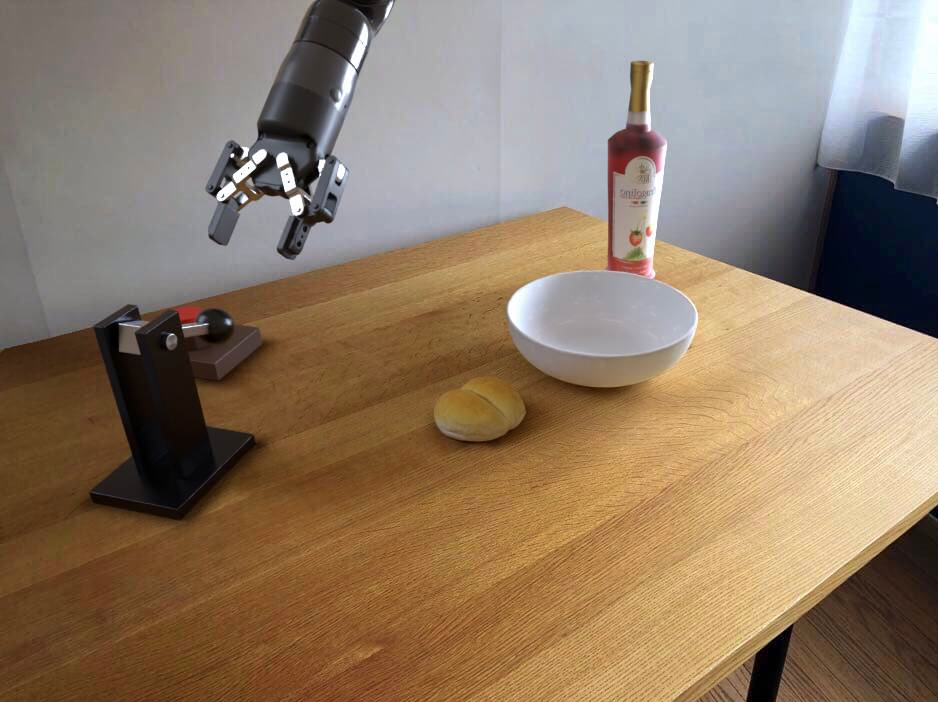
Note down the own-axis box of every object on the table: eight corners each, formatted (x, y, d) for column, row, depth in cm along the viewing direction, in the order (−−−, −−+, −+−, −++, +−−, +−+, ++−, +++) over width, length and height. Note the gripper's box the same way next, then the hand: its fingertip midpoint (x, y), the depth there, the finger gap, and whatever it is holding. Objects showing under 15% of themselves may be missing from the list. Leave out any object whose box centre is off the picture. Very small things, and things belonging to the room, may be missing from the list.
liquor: (650, 270, 120) (666, 56, 105) (660, 292, 113) (679, 68, 99) (598, 272, 119) (606, 57, 104) (605, 294, 113) (616, 69, 98)
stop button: (164, 331, 96) (161, 317, 95) (184, 318, 99) (181, 304, 98) (192, 336, 95) (189, 321, 94) (211, 321, 98) (208, 308, 97)
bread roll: (419, 423, 87) (416, 389, 85) (486, 391, 92) (484, 358, 90) (472, 457, 82) (470, 421, 80) (540, 421, 87) (540, 387, 85)
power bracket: (176, 429, 86) (137, 283, 77) (256, 444, 83) (225, 295, 75) (92, 502, 76) (36, 343, 67) (180, 520, 74) (134, 359, 65)
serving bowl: (507, 414, 88) (506, 355, 84) (507, 322, 106) (506, 270, 102) (708, 411, 89) (716, 352, 85) (675, 320, 106) (680, 268, 103)
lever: (209, 340, 84) (210, 303, 83) (241, 345, 83) (242, 308, 83) (111, 357, 72) (110, 314, 71) (148, 363, 71) (148, 320, 70)
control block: (124, 366, 96) (115, 334, 94) (174, 331, 104) (166, 300, 102) (218, 381, 94) (210, 348, 92) (262, 344, 101) (256, 313, 99)
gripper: (385, 131, 87) (329, 277, 84) (275, 116, 92) (219, 253, 90) (347, 86, 80) (285, 244, 77) (230, 73, 85) (168, 220, 83)
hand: (250, 249), depth 84 cm, fingers open, 8 cm apart
